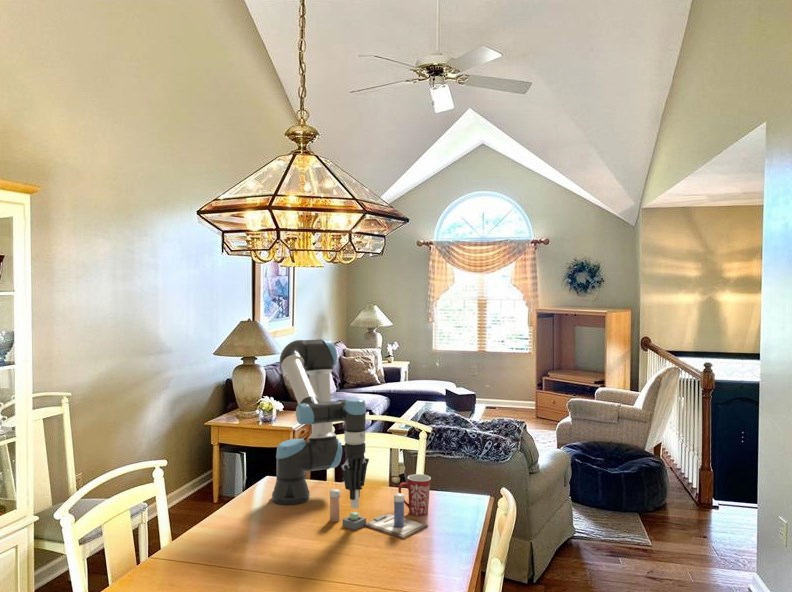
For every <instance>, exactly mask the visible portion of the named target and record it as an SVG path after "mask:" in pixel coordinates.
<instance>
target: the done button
mask: <svg viewBox="0 0 792 592" xmlns="http://www.w3.org/2000/svg"><path fill="white" fill-rule="evenodd" d="M349 516H350V520H351V521H354V522H355V521H358V520H359V516H360V513H359V512H358V511H352V512H350V513H349Z"/></svg>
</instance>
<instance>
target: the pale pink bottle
mask: <svg viewBox="0 0 792 592" xmlns="http://www.w3.org/2000/svg"><path fill="white" fill-rule="evenodd" d="M340 497H341V489H339V488H332V489H330V490H329V521H330V522H331V523H339V522H340V505H341V504H340V502H341V501H340V500H341V498H340Z"/></svg>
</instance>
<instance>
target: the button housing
mask: <svg viewBox="0 0 792 592" xmlns="http://www.w3.org/2000/svg"><path fill="white" fill-rule="evenodd" d="M365 523H367V518H366V517H364V516H360V515H359V520H358V521H355V522H354V521H351V520H350V515H348V516H347V517H344V518H342V526H343V527H344V528H347V529H349V530H353V531H356V530H359V529H361V528H363V527H365V526H364V524H365Z"/></svg>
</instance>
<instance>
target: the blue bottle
mask: <svg viewBox="0 0 792 592" xmlns="http://www.w3.org/2000/svg"><path fill="white" fill-rule="evenodd" d="M404 500H405V494H404V493H403V492H401V493H399V492H397V493H394V494H393V503H394V505H393V506H394V507H393V514H394V527H397V528H401V527H404V518H405V503H404Z"/></svg>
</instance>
